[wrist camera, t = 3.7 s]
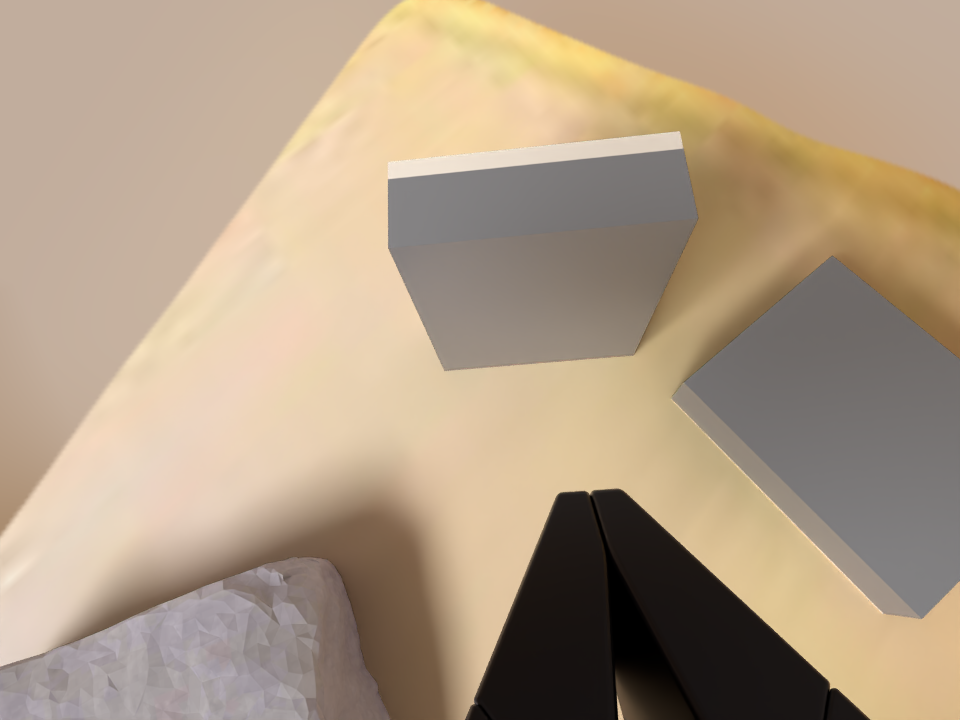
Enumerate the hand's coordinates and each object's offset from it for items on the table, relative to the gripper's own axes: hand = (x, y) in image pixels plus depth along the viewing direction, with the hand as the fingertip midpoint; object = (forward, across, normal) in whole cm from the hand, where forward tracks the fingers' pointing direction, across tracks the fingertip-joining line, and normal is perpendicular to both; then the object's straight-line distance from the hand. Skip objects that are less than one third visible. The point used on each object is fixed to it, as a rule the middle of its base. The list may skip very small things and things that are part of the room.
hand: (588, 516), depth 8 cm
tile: (+14, 0, +3) cm, 15 cm away
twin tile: (+11, -10, +7) cm, 17 cm away
